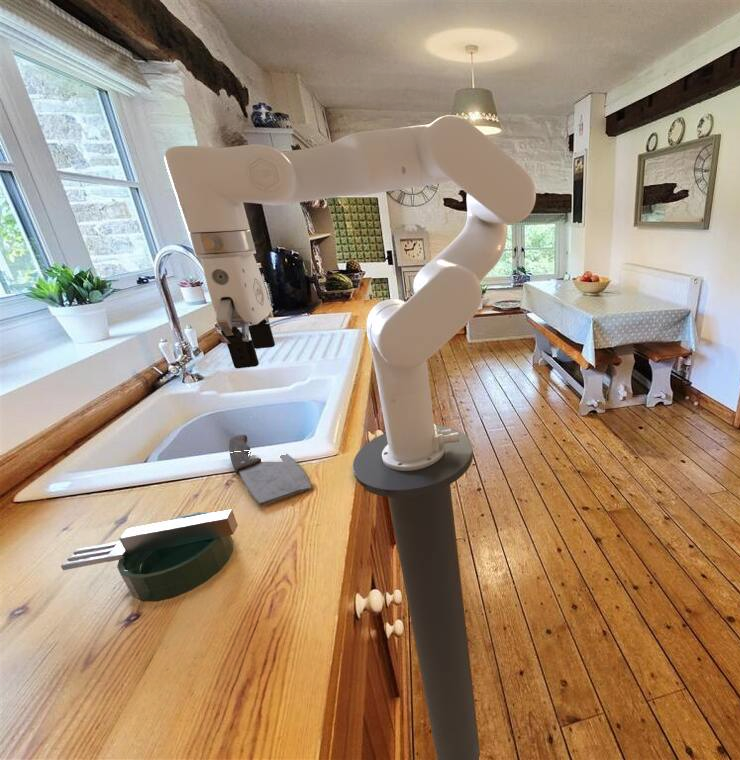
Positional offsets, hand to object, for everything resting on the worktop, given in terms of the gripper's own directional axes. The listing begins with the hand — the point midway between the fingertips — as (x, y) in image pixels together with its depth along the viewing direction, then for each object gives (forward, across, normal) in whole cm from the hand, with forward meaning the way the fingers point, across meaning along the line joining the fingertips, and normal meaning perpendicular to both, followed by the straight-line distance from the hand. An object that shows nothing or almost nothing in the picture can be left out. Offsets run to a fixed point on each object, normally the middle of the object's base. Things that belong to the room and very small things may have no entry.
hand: (256, 356), depth 66 cm
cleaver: (+26, +10, +8) cm, 29 cm away
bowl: (+26, -15, +12) cm, 33 cm away
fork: (+21, -15, +15) cm, 30 cm away
